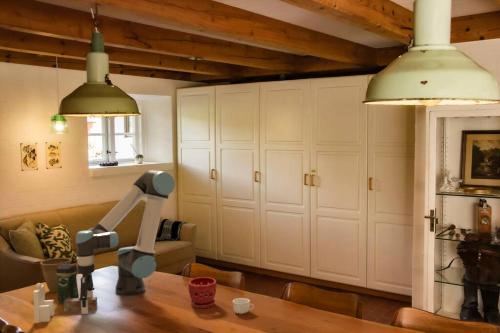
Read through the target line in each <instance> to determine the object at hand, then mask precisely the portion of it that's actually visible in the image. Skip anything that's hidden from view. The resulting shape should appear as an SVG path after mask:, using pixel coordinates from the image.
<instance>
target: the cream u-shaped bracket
mask: <svg viewBox="0 0 500 333" xmlns="http://www.w3.org/2000/svg"><path fill="white" fill-rule="evenodd" d="M45 288H46V287H45V284H42V283H40V282H38V283H36V284H35V289H34V291H33V292H32V294H33V295H32V296H33V312H34V324H40V323H48V322H51V317H53V316H55V301H54V299H46V293H45V290H46V289H45Z"/></svg>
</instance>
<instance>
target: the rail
mask: <svg viewBox="0 0 500 333" xmlns="http://www.w3.org/2000/svg"><path fill="white" fill-rule="evenodd" d="M79 299H80V297H79V298H72V299H70V298H66V299H65V300H64V303H63V309H64V313H70V312H71V313H72V312H74V313H75V312H82V309H81V301H79ZM87 299H88V312H89V311H97V309H98V297H97V296H93V297H89V298H87Z"/></svg>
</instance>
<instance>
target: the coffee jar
mask: <svg viewBox="0 0 500 333" xmlns="http://www.w3.org/2000/svg"><path fill="white" fill-rule="evenodd" d="M77 266H78V265H77V263H76V264H75V263H70V264H61V265H58V266H57V270H56V275H57V278H58V292H57V302H58V303H60V304H64V300H65V299H66V298H70V299H72V298H80V294H79V289H78V283H77V282H78V281H77V276H78V268H77Z"/></svg>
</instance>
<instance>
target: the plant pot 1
mask: <svg viewBox="0 0 500 333" xmlns="http://www.w3.org/2000/svg"><path fill="white" fill-rule="evenodd" d="M71 261H72V259H71V258H69V257H57V258H56V257H55V258H49V259H44V260H42V261H40V268H41V271H42V276H43V278H44V281H45V284H46V286H47V288H48V291H49V292H50V293H53V294H54V293H55V294H56V293H58V278H57V275H56V270H57V266H58V265H61V264H71Z"/></svg>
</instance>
